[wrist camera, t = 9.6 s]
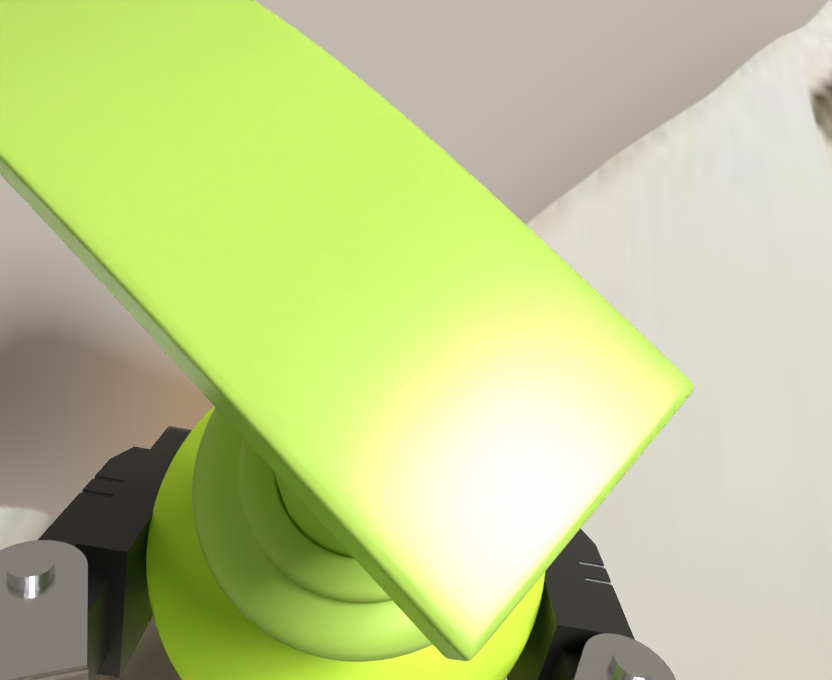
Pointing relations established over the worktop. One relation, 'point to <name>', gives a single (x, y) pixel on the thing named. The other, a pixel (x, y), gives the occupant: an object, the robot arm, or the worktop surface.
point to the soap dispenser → (324, 343)
